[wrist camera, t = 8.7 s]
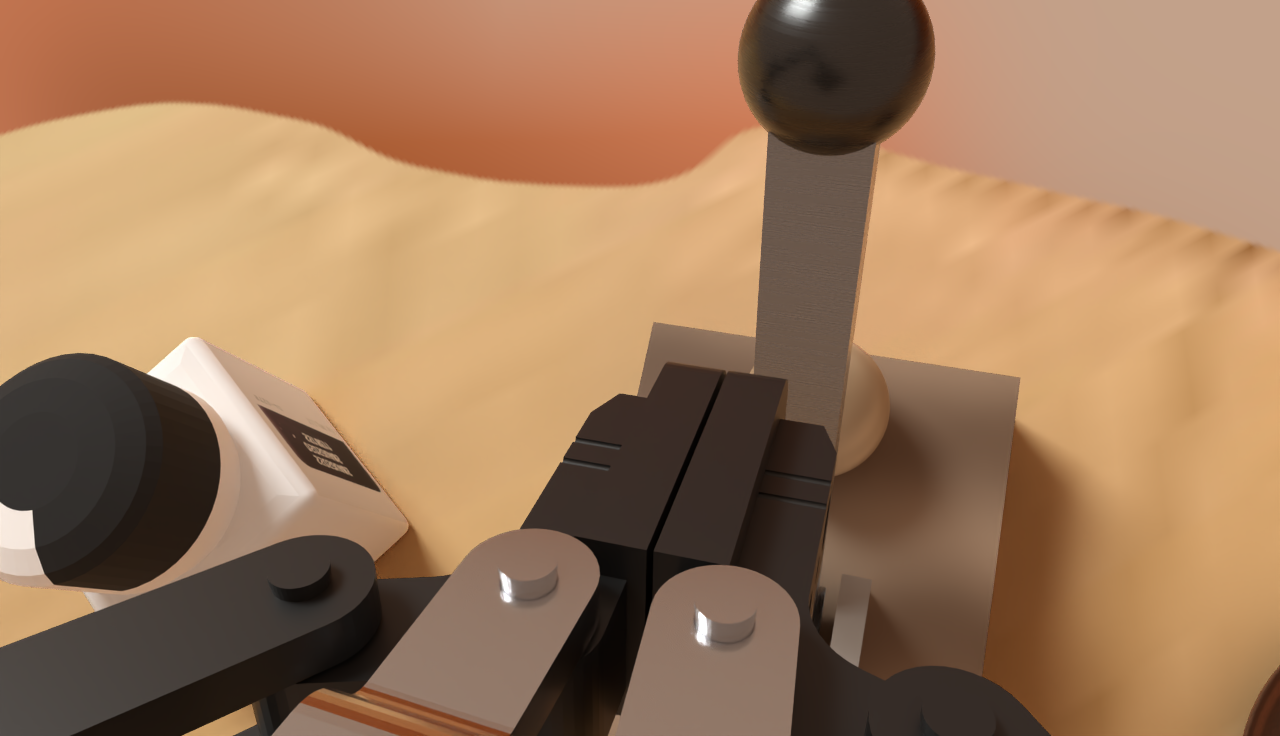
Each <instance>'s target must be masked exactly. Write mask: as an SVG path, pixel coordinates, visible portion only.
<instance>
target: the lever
mask: <svg viewBox="0 0 1280 736" xmlns="http://www.w3.org/2000/svg"><path fill="white" fill-rule="evenodd" d="M934 61H935V38H934V31H933V26H932V23H931V19H930V16H929V14H928V11H927V8H926V6H925V5H924V3H923V1H922V0H757V1H756V2H755V4H754V6H753V7H752V10H751V11H750V13H749V15H748V18H747V20H746V23H745V25H744V28H743V30H742V35H741V39H740V42H739V51H738V73H739V78H740V84H741V87H742V91H743V94H744V97H745V100H746V102H747V104H748V106H749V108H750V110H751V112H752V113H753V115H754V116H755V118H756V119H757V121H758V122H759V123H760V125H761V126H762V127H763V128H764V129H765V130H766V131H767V132H768V147H767V163H766V179H765V196H764V212H763V229H762V245H761V261H760V278H759V294H758V311H757V327H756V344H755V360H754V374H756V375H763V376H770V377H776V378H783V379H788V397H787V407H786V416H785V420H790V421H796V422H803V423H809V424H815V425H821V426H824V427H825V429H826V431H827V433H828V435H829V438H830V440H831V442H832V444H833V446H834V448H835V450H836V452H837V454H838V447H839V439H840V432H841V425H842V418H843V410H844V403H845V396H846V389H847V381H848V374H849V367H850V360H851V352H852V345H853V338H854V331H855V323H856V316H857V309H858V302H859V294H860V287H861V280H862V273H863V265H864V258H865V251H866V244H867V236H868V229H869V222H870V214H871V207H872V200H873V193H874V185H875V178H876V171H877V164H878V156H879V149H880V143H882V142H884V141H886V140H887V139H888V138H890V137H891V136H892V135H894V134H895V133H896V132H897V131H898V130H900V129H901V128H902V127H903V126H904V125H905V124H906V123H907V122H908V121H909V119H910V118H911V117H912V115H913V114H914V113H915V111H916V109H917V108H918V107H919V105H920V103H921V102H922V100H923V98H924V96H925V94H926V91H927V89H928V86H929V84H930V81H931V77H932V73H933V69H934ZM836 461H837V456H836ZM835 468H836V463H835ZM834 476H835V471H834ZM833 483H834V478H833ZM832 490H833V485H832ZM831 497H832V492H831ZM830 505H831V500H830ZM829 512H830V507H829ZM828 519H829V514H828ZM827 526H828V522H827ZM826 534H827V529H826ZM825 541H826V536H825ZM824 548H825V543H824ZM823 555H824V551H823ZM822 563H823V556H822V562H821V567H820V573H819V578H818V582H817V589H816V594H815V599H814V605H813V609H812V616H811V618H812V621H813V624H814V626H815V628H816V629H817V631H818V633H819V632H820V626H821V620H822V613H823V607H824V601H825V594H826V587H822V586H819V584H820V577H821V570H822Z"/></svg>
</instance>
